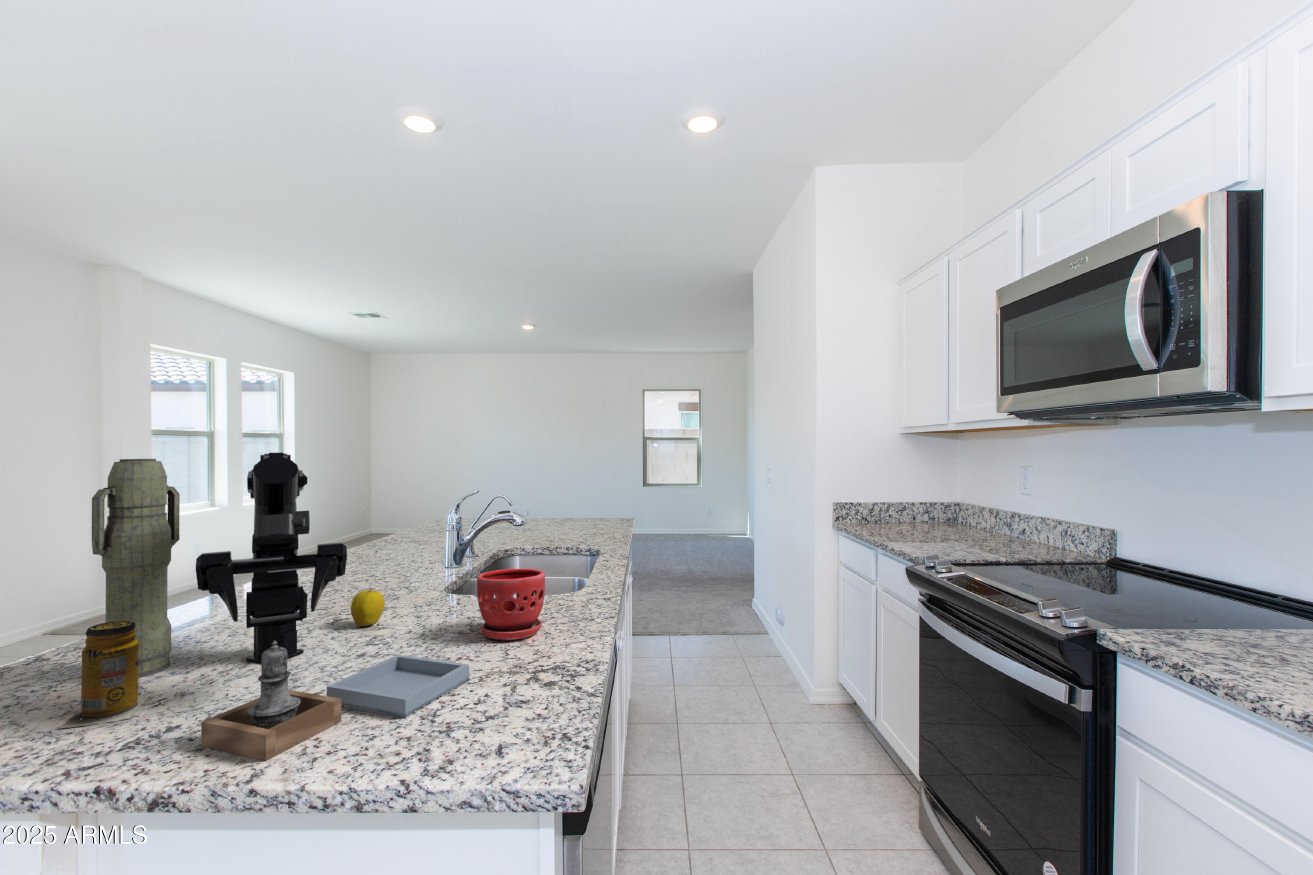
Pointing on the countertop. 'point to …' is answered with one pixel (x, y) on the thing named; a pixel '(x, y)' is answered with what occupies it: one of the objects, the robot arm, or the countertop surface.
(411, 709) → the tray
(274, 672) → the salt shaker
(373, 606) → the apple
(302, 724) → the socket block
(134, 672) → the condiment
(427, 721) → the countertop surface
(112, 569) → the thermos
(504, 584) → the plant pot
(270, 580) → the robot arm
